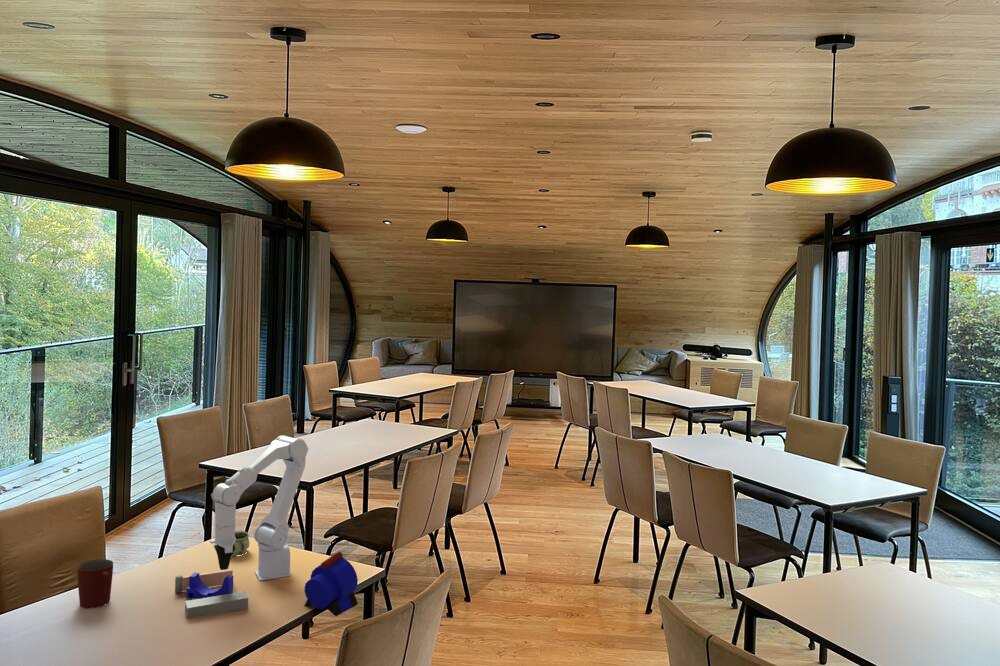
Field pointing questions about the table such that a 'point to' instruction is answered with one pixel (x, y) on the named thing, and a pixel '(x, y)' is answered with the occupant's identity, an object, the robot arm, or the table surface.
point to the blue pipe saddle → (201, 591)
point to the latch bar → (202, 579)
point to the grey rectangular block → (216, 604)
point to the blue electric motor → (332, 585)
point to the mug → (94, 582)
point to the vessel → (241, 543)
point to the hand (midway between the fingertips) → (223, 568)
